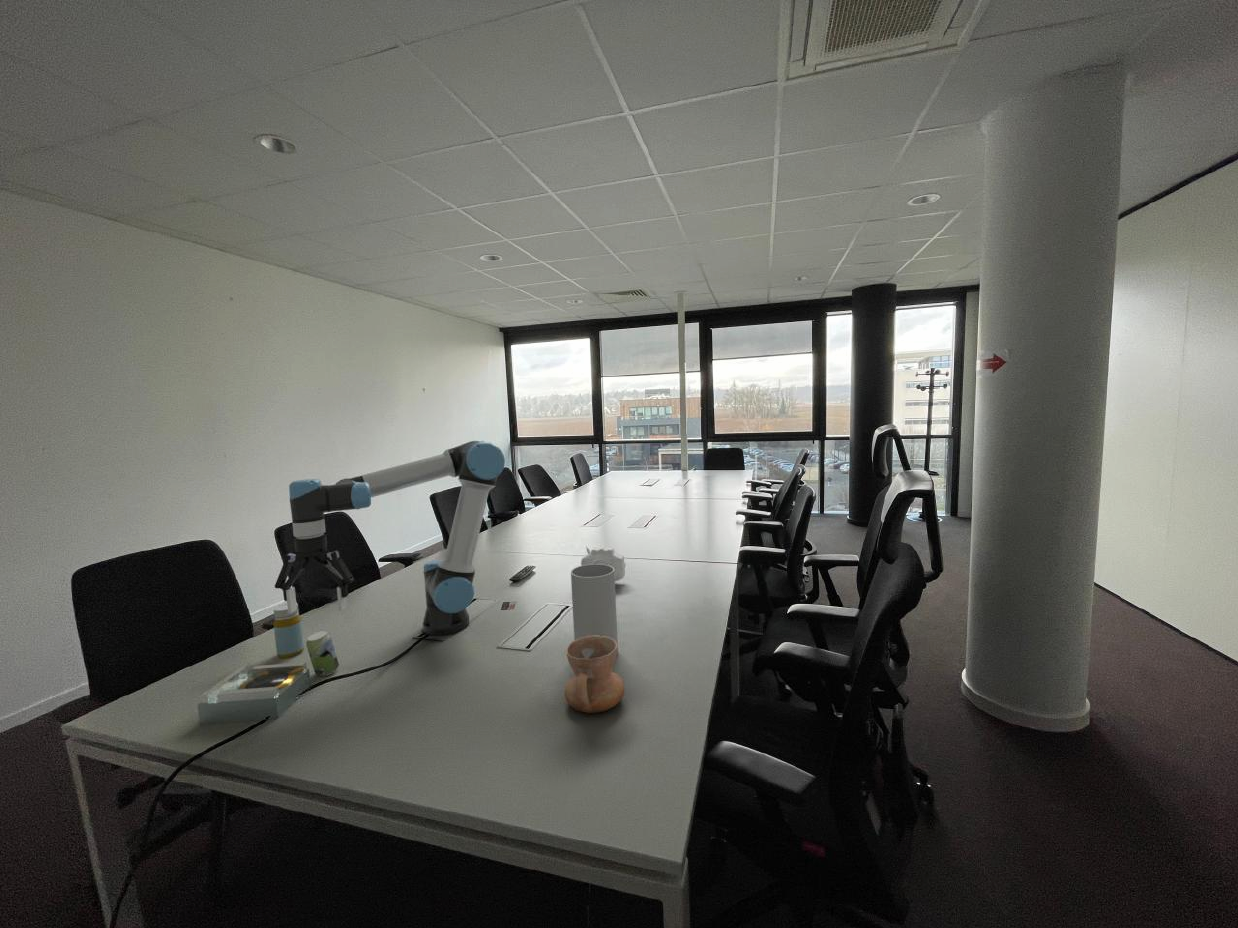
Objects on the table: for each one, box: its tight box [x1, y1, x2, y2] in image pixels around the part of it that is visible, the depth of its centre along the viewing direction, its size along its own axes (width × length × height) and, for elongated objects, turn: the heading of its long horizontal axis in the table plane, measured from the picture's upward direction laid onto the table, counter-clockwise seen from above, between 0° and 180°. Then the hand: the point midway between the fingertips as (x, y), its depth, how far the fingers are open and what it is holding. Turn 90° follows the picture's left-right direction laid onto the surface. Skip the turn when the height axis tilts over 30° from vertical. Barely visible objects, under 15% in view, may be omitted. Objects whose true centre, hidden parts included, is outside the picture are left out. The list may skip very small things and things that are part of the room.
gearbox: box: [197, 662, 312, 725], centre depth 125 cm, size 18×14×7 cm
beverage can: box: [305, 630, 340, 677], centre depth 139 cm, size 6×7×12 cm
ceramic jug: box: [564, 635, 626, 714], centre depth 118 cm, size 18×14×14 cm
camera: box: [580, 545, 626, 582], centre depth 203 cm, size 11×18×16 cm, turn 80°
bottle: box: [273, 602, 305, 659], centre depth 153 cm, size 7×7×15 cm
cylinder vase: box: [570, 564, 619, 659], centre depth 143 cm, size 12×12×25 cm
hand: (317, 610), depth 138 cm, fingers open, 13 cm apart
